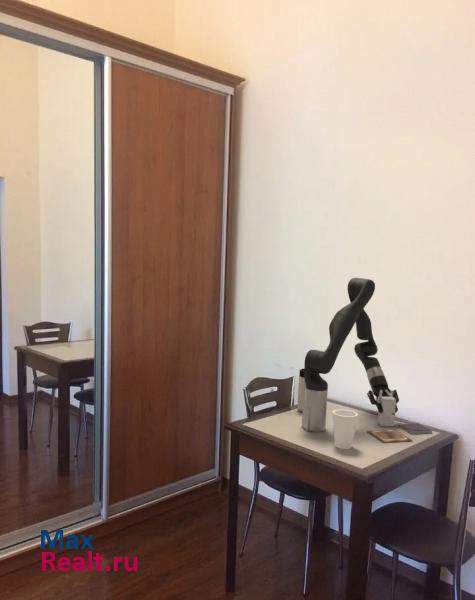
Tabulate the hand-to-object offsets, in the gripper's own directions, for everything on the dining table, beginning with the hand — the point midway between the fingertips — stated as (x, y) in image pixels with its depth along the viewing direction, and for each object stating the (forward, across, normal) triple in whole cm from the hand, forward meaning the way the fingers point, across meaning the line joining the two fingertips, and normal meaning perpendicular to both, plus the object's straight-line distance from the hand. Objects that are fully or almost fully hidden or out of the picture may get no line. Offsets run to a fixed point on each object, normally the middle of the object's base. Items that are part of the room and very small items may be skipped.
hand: (389, 412), depth 223 cm
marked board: (+13, -7, -4) cm, 16 cm away
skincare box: (+3, 0, +6) cm, 7 cm away
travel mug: (-13, -29, +23) cm, 39 cm away
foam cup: (+18, -31, -9) cm, 37 cm away
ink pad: (+9, +9, 0) cm, 13 cm away
